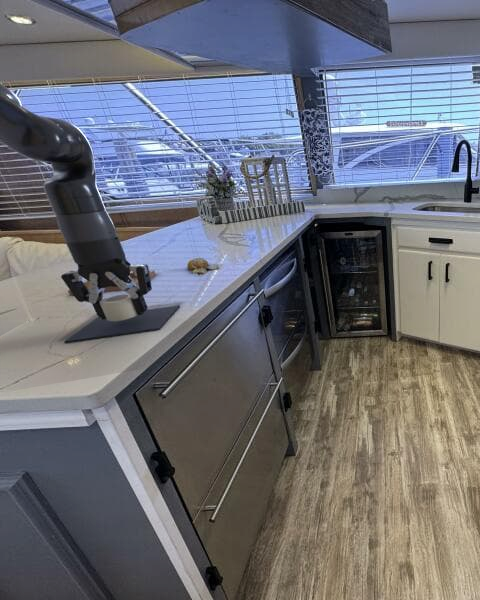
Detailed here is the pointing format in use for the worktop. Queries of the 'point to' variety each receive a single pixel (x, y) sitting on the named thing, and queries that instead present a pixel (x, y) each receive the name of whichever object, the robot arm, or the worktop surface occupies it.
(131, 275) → the tray
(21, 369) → the worktop surface
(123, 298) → the tape
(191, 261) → the turtle figurine
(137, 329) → the mat
